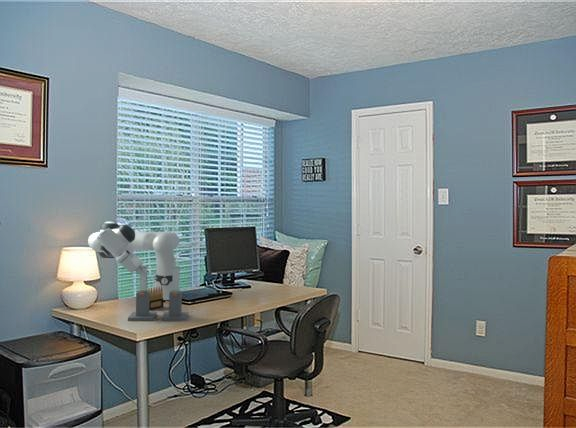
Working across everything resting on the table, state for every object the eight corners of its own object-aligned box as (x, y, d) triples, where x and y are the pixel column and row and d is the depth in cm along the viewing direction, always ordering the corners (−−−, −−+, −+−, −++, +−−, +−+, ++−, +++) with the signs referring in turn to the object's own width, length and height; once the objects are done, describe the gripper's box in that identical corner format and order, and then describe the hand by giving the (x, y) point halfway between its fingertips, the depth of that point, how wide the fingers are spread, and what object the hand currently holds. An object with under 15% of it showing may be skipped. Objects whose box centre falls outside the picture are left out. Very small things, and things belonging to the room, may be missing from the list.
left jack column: (140, 299, 253) (141, 266, 253) (146, 299, 253) (147, 266, 253) (139, 300, 250) (139, 267, 249) (145, 301, 250) (146, 267, 250)
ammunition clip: (148, 310, 267) (148, 288, 267) (145, 310, 268) (146, 287, 268) (163, 307, 276) (164, 285, 276) (161, 306, 277) (161, 285, 277)
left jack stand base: (132, 314, 257) (133, 289, 257) (156, 314, 259) (157, 289, 258) (127, 320, 246) (128, 293, 245) (152, 320, 247) (153, 294, 246)
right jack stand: (164, 314, 259) (165, 264, 258) (188, 314, 261) (189, 265, 260) (161, 320, 247) (162, 268, 246) (186, 320, 249) (187, 268, 248)
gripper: (124, 256, 260) (143, 275, 262) (115, 261, 240) (136, 282, 241) (133, 248, 260) (152, 267, 262) (125, 252, 240) (145, 273, 242)
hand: (144, 274), depth 251 cm, fingers closed on left jack column, 3 cm apart
